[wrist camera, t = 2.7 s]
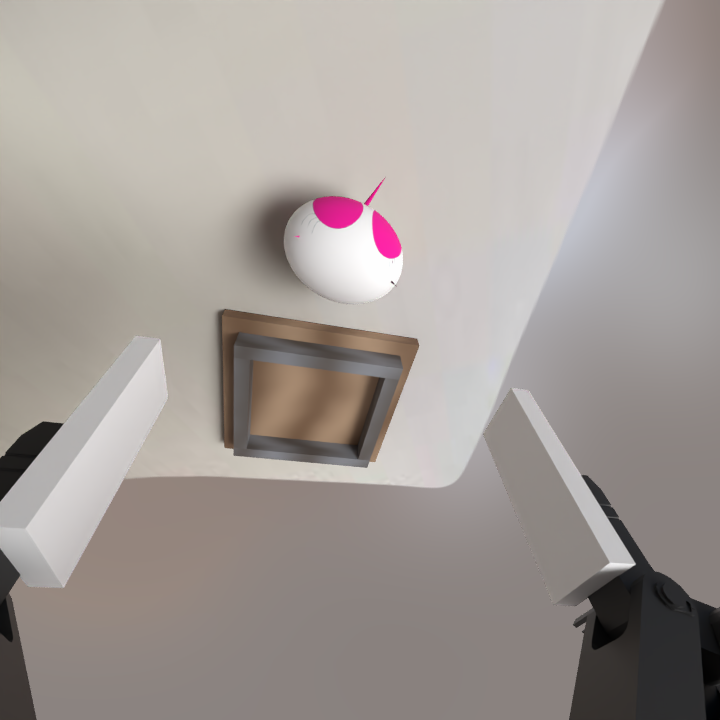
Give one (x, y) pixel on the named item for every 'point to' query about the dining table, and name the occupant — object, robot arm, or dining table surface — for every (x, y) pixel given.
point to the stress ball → (343, 249)
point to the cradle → (309, 388)
